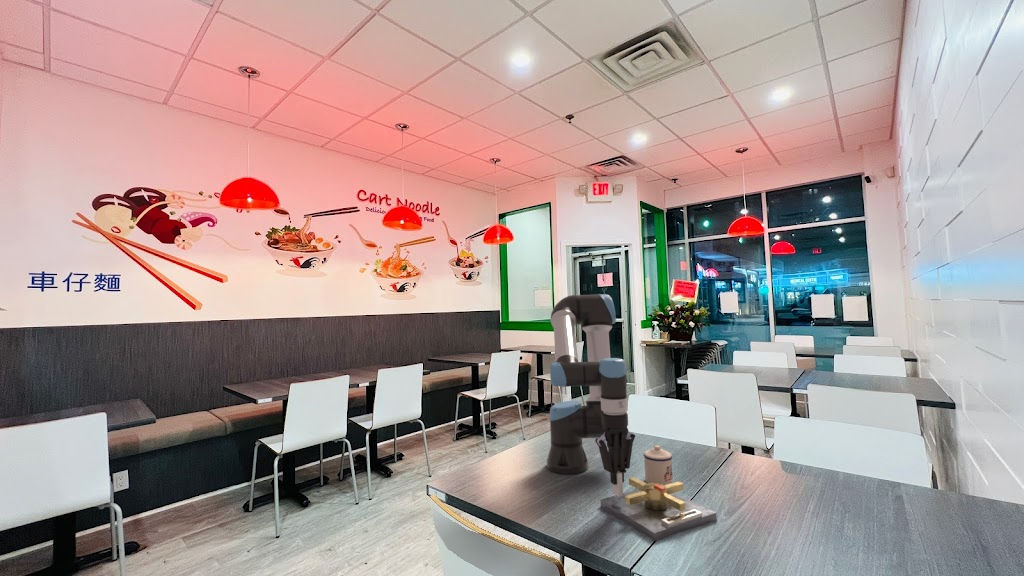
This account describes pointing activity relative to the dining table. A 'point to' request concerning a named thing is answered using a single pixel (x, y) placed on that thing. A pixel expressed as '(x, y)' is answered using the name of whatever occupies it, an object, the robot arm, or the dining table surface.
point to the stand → (658, 516)
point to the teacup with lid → (658, 466)
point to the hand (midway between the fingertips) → (618, 494)
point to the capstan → (655, 495)
